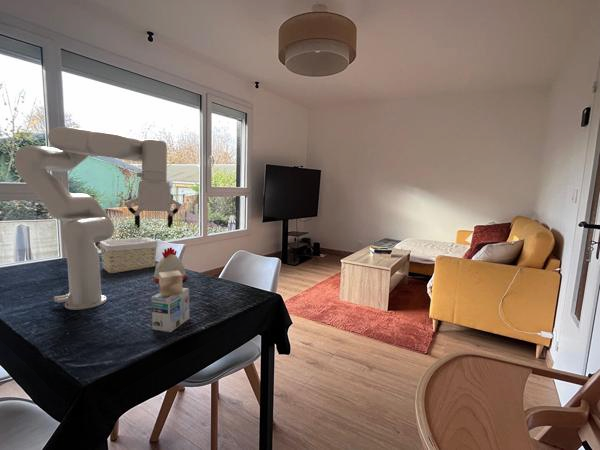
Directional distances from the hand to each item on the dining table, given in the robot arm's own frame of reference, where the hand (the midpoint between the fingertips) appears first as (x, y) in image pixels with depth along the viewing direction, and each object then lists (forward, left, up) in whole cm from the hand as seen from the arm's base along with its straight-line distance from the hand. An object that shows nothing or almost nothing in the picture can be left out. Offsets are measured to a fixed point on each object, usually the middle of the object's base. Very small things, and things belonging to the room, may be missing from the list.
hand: (154, 227), depth 104 cm
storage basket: (-4, +64, -30) cm, 71 cm away
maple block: (+3, -14, -19) cm, 24 cm away
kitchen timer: (+11, +36, -30) cm, 48 cm away
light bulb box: (+3, -14, -30) cm, 33 cm away
